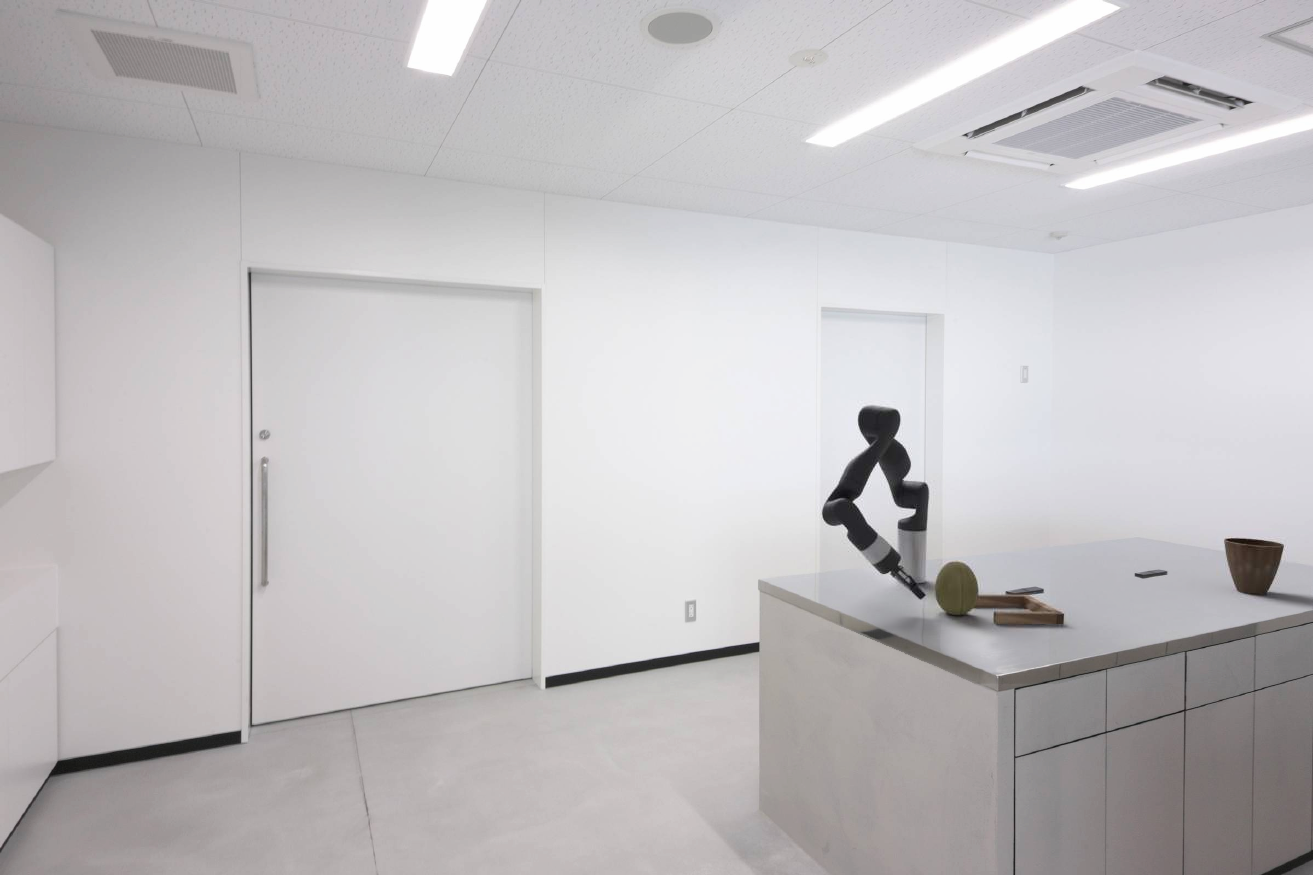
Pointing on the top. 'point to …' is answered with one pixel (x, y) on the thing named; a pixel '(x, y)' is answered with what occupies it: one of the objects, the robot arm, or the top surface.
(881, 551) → the robot arm
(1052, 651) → the top surface
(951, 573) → the fruit
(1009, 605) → the walnut bay
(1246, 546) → the plant pot
